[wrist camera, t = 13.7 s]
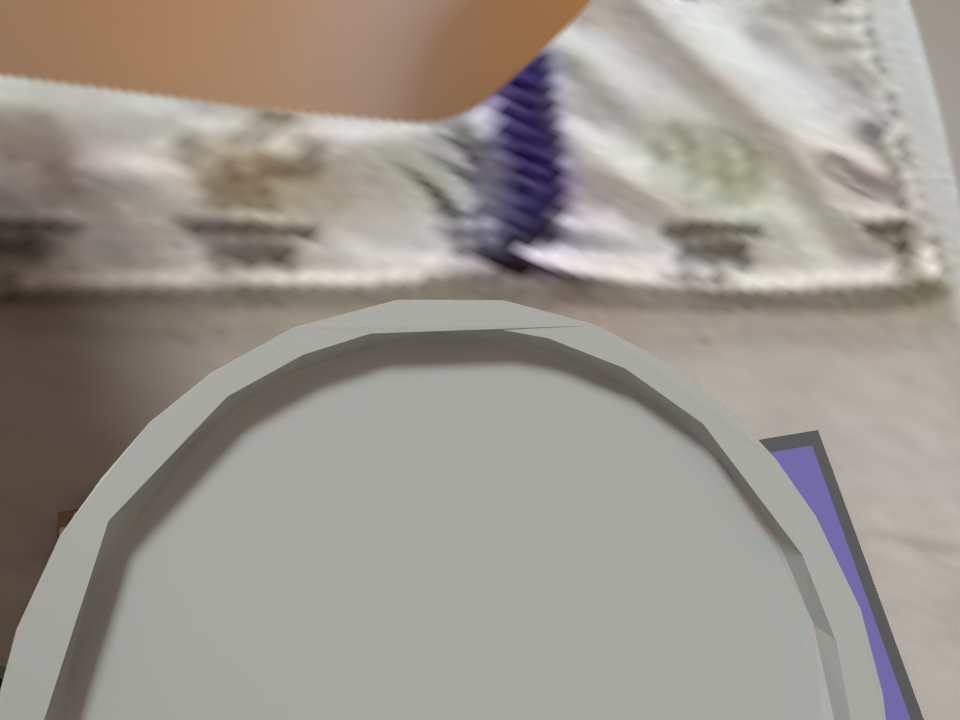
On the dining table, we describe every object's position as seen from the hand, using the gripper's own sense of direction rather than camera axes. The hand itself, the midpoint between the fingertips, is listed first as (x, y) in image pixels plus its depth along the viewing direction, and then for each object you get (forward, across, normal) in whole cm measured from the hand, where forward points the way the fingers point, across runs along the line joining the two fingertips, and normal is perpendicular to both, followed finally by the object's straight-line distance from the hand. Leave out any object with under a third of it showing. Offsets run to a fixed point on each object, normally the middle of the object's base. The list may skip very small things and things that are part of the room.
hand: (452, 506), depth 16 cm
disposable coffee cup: (+1, 0, -5) cm, 5 cm away
